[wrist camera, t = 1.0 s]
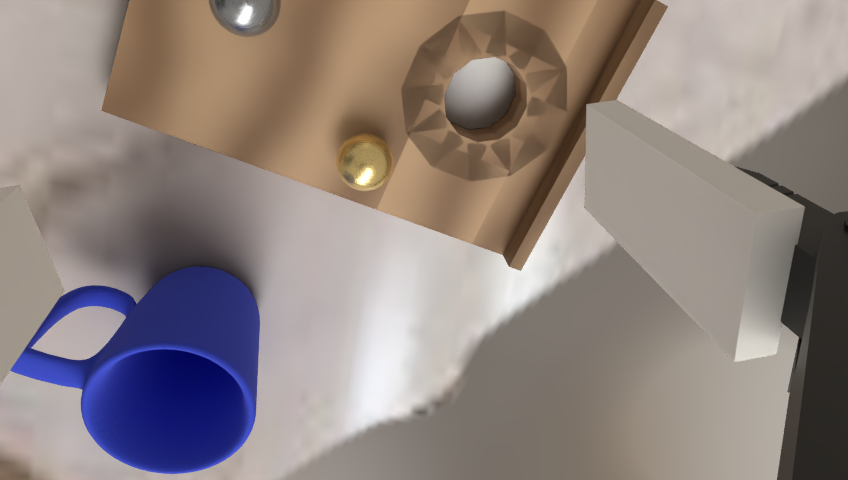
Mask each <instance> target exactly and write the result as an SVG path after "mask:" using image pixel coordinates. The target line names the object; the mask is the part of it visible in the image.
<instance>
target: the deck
mask: <svg viewBox="0 0 848 480" xmlns="http://www.w3.org/2000/svg"><path fill="white" fill-rule="evenodd" d="M667 7H668V6H666V5H664V4H662V3H661V2H659V1H657V0H281V8H280V13H279V16H278V19H277V21H276V22H275V24H274V25H273V26H272V27H271V28H270V29H269V30H268V31H266V32H265V33H263V34H261V35H258V36H254V37H242V36H238V35H235V34H232V33H230V32H229V31H227V30H226V29H224V28H223V27H222V26H221V25H220V24H219V23H218V22H217V20H216V19H215V17H214V16H213V14H212V12H211V9H210V6H209V0H129V4H128V8H127V12H126V16H125V20H124V24H123V27H122V31H121V35H120V39H119V43H118V47H117V51H116V55H115V59H114V63H113V67H112V71H111V75H110V79H109V83H108V87H107V91H106V95H105V99H104V103H103V107H102V111H104V112H107V113H110V114H113V115H115V116H118V117H121V118H124V119H126V120H129V121H132V122H135V123H138V124H140V125H143V126H146V127H149V128H151V129H154V130H157V131H160V132H163V133H165V134H168V135H171V136H174V137H176V138H179V139H182V140H185V141H188V142H190V143H193V144H196V145H199V146H201V147H204V148H207V149H210V150H213V151H215V152H218V153H221V154H224V155H226V156H229V157H232V158H235V159H238V160H240V161H243V162H246V163H249V164H251V165H254V166H257V167H260V168H263V169H265V170H268V171H271V172H274V173H276V174H279V175H282V176H285V177H288V178H290V179H293V180H296V181H299V182H302V183H304V184H307V185H310V186H313V187H315V188H318V189H321V190H324V191H327V192H329V193H332V194H335V195H338V196H340V197H343V198H346V199H349V200H352V201H354V202H357V203H360V204H363V205H365V206H368V207H371V208H374V209H377V210H379V211H382V212H385V213H388V214H390V215H393V216H396V217H399V218H402V219H404V220H407V221H410V222H413V223H415V224H418V225H421V226H424V227H427V228H429V229H432V230H435V231H438V232H440V233H443V234H446V235H449V236H452V237H454V238H457V239H460V240H463V241H465V242H468V243H471V244H474V245H477V246H479V247H482V248H485V249H488V250H491V251H493V252H496V253H499V254H502V255H503V256H504V258H505V260H506V262H507V264H508V265H509V267H512V268H515V269H517V270H520V271H521V269H522V268H523V266H524V264H525V262H526V261H527V259H528V257H529V255H530V253H531V252H532V250H533V248H534V246H535V244H536V243H537V241H538V239H539V237H540V235H541V234H542V232H543V230H544V228H545V226H546V225H547V223H548V221H549V219H550V217H551V216H552V214H553V212H554V210H555V208H556V207H557V205H558V203H559V201H560V199H561V198H562V196H563V194H564V192H565V190H566V189H567V187H568V185H569V183H570V182H571V180H572V178H573V176H574V174H575V173H576V171H577V169H578V167H579V165H580V164H581V162H582V160H583V158H584V156H585V154H586V104H592V103H599V102H606V101H613V100H616V99H617V97H618V95H619V94H620V92H621V90H622V88H623V86H624V85H625V83H626V81H627V79H628V77H629V76H630V74H631V72H632V70H633V68H634V67H635V65H636V63H637V61H638V59H639V58H640V56H641V54H642V52H643V50H644V49H645V47H646V45H647V43H648V41H649V40H650V38H651V36H652V34H653V33H654V31H655V29H656V27H657V25H658V24H659V22H660V20H661V18H662V16H663V15H664V13H665V11H666V9H667ZM490 57H496V58H499V59H501V60H503V61H505V62H506V63H507V64H508V66H509V67H510V69H511V70H512V72H513V74H514V76H515V97H514V99H513V101H512V103H511V105H510V107H509V109H508V111H507V113H506V115H505V116H504V117H502V118H501V119H499V120H498V121H497V122H495V123H494V124H493V125H491V126H490V127H487V128H479V129H472V130H468V129H466V128H463V127H461V126H458V125H456V124H454V123H451V122H450V121H449V119H448V118H447V116H446V112H445V100H444V94H445V92H446V90H447V88H448V85H449V83H450V81H451V79H452V77H453V74H454V73H455V72H457V71H458V70H459V69H461V68H462V67H463V66H465V65H466V64H467V63H469V62H470V61H471V60H474V59H482V58H490ZM362 133H367V134H372V135H375V136H377V137H379V138H381V139H382V140H383V141H385V142H386V144H387V145H388V146H389V148H390V150H391V152H392V155H393V162H394V164H393V170H392V173H391V175H390V177H389V179H388V180H387V181H386V182H385V183H384V184H383V185H382V186H380V187H379V188H377V189H374V190H371V191H360V190H356V189H353V188H351V187H350V186H348V185H347V184H346V183H345V182H344V181H343V180H342V179H341V177H340V176H339V173H338V171H337V167H336V157H337V153H338V150H339V148H340V147H341V145H342V144H343V143H344V142H345V141H346V140H347V139H348V138H350V137H352V136H354V135H357V134H362Z"/></svg>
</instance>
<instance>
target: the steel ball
mask: <svg viewBox="0 0 848 480" xmlns="http://www.w3.org/2000/svg"><path fill="white" fill-rule="evenodd" d="M209 6H210V9H211V12H212V14H213V16H214V17H215V19H216V20H217V22H218V23H219V24H220V25H221V26H222V27H223V28H224V29H226V30H227V31H229V32H230V33H232V34H235V35H238V36H242V37H254V36H258V35H261V34H263V33H265V32H266V31H268V30H269V29H270V28H271V27H272V26H273V25H274V24H275V22H276V21H277V19H278V16H279V13H280V8H281V0H209Z"/></svg>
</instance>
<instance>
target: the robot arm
mask: <svg viewBox="0 0 848 480" xmlns="http://www.w3.org/2000/svg"><path fill="white" fill-rule="evenodd" d="M584 208H585V209H586V210H587V211H588V212H589V213H590V214H591V215H592V216H593V217H594V218H595V219H596V220H597V221H598V222H599V223H600V224H601V225H602V226H603V227H604V228H605V229H606V230H607V232H608V233H609V234H610V235H611V236H612V237H613V238H614V239H615V240H616V241H617V242H618V243H619V244H620V245H621V246H622V247H623V248H624V249H625V250H626V251H627V252H628V253H629V254H630V255H631V256H632V257H633V258H634V259H635V260H636V261H637V262H638V263H639V264H640V266H641V267H643V269H644V270H645V271H646V272H647V273H649V275H650V276H651V277H652V278H653V279H654V280H655V281H656V282H657V283H658V284H659V285H660V286H661V287H662V288H663V289H664V290H665V291H666V292H667V293H668V294H669V295H670V296H671V297H672V298H673V299H674V300H675V302H676V303H677V304H678V305H679V306H680V307H681V308H682V309H683V310H684V311H685V312H686V313H687V314H688V315H689V316H690V317H691V318H692V319H693V320H694V321H695V322H696V323H697V324H698V325H699V326H700V327H701V328H702V329H703V330H704V331H705V332H706V334H707V335H708V336H709V337H710V338H711V339H712V340H713V341H714V342H715V343H716V344H717V345H718V346H719V347H720V348H721V349H722V350H723V351H724V352H725V353H726V354H727V355H728V356H729V357H730V358H731V359H732V360H733V361H734V362H737V361H743V360H748V359H753V358H759V357H764V356H769V355H774V354H776V353H777V348H778V343H779V338H780V333H781V328H782V323H783V324H784V325H785V326H787V327H788V328H789V329H790V330H791V331H792V332H794V333H795V334H796V335H797V336H798V337H799V340H798V344H797V349H796V354H795V359H794V364H793V368H792V373H791V378H790V382H789V388H788V392H790V395H789V401H788V408H787V415H786V422H785V428H784V435H783V442H782V449H781V456H780V463H779V470H778V477H777V480H848V211H847V212H839V213H836V214H833V213H831V212H829V211H827V210H825V209H823V208H821V207H820V206H818V205H816V204H815V203H813V202H811V201H809V200H807V199H806V198H804V197H802V196H800V195H798V194H793V191H791V190H789V189H787V188H786V187H784V186H779V185H778V183H776V182H775V181H773V180H771V179H769V178H767V177H765V176H764V175H762V174H760V173H756V172H753V171H749V170H746V169H742V168H739V167H735V166H732V165H730V164H729V163H727V162H725V161H723V160H722V159H720V158H718V157H716V156H715V155H713V154H711V153H709V152H708V151H706V150H704V149H702V148H700V147H699V146H697V145H695V144H693V143H692V142H690V141H688V140H686V139H685V138H683V137H681V136H679V135H678V134H676V133H674V132H672V131H671V130H669V129H667V128H665V127H663V126H662V125H660V124H658V123H656V122H655V121H653V120H651V119H649V118H648V117H646V116H644V115H642V114H641V113H639V112H637V111H635V110H634V109H632V108H630V107H628V106H626V105H625V104H623V103H621V102H619V101H618V100H613V101H606V102H599V103H592V104H586V154H585V205H584ZM63 292H64V289H63V286H62V284H61V281H60V279H59V277H58V274H57V272H56V270H55V267H54V265H53V262H52V260H51V258H50V255H49V253H48V251H47V248H46V246H45V243H44V241H43V239H42V236H41V234H40V231H39V229H38V227H37V224H36V222H35V220H34V217H33V215H32V212H31V210H30V208H29V205H28V203H27V201H26V198H25V196H24V193H23V191H22V189H21V186H20V185H19V186H12V187H5V188H0V384H1V383H2V382H3V380H4V379H5V377H6V376H7V374H8V373H9V371H10V370H11V368H12V367H13V365H14V364H15V362H16V361H17V359H18V358H19V357H20V355H21V354H22V352H23V351H24V349H25V348H26V346H27V345H28V343H29V342H30V340H31V339H32V337H33V336H34V335H35V333H36V332H37V330H38V329H39V327H40V326H41V324H42V323H43V321H44V320H45V318H46V317H47V315H48V314H49V313H50V311H51V310H52V308H53V307H54V305H55V304H56V302H57V301H58V299H59V298H60V296H61V295H62V293H63Z"/></svg>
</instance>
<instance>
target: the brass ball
mask: <svg viewBox="0 0 848 480" xmlns="http://www.w3.org/2000/svg"><path fill="white" fill-rule="evenodd" d="M393 164H394V162H393V155H392V152H391V150H390V148H389V146H388V145H387V144H386V142H385V141H383V140H382V139H381V138H379V137H377V136H375V135H372V134H367V133H362V134H357V135H354V136H352V137H350V138H348V139H347V140H346V141H345V142H344V143H343V144H342V145H341V147H340V148H339V150H338V153H337V157H336V167H337V171H338V173H339V176H340V177H341V179H342V180H343V181H344V182H345V183H346V184H347V185H348V186H350V187H351V188H353V189H356V190H360V191H371V190H374V189H377V188H379V187H380V186H382V185H383V184H384V183H385V182H386V181H387V180H388V179H389V177H390V175H391V173H392V170H393Z"/></svg>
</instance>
